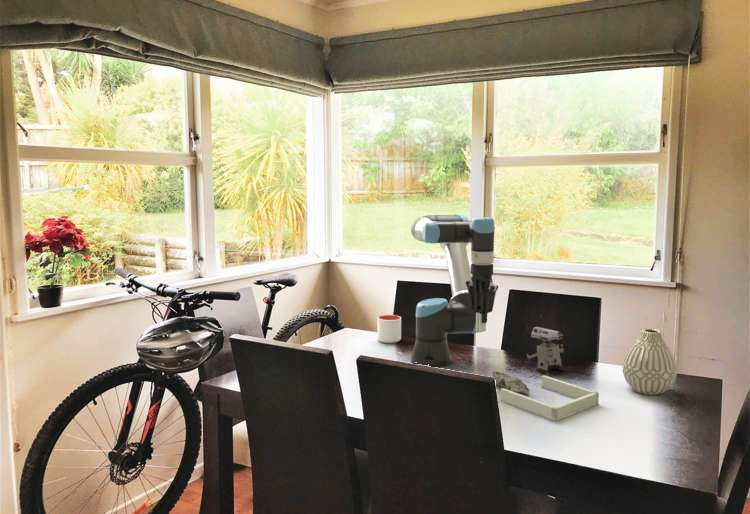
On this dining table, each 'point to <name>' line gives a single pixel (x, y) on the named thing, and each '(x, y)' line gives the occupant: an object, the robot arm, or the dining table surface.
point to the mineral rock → (510, 383)
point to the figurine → (547, 349)
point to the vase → (649, 364)
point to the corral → (581, 402)
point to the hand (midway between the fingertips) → (480, 331)
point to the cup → (389, 328)
